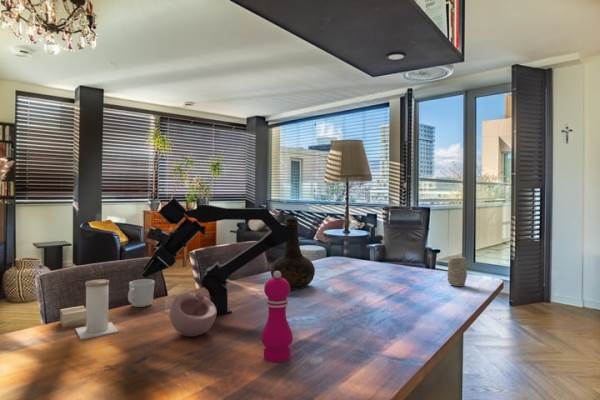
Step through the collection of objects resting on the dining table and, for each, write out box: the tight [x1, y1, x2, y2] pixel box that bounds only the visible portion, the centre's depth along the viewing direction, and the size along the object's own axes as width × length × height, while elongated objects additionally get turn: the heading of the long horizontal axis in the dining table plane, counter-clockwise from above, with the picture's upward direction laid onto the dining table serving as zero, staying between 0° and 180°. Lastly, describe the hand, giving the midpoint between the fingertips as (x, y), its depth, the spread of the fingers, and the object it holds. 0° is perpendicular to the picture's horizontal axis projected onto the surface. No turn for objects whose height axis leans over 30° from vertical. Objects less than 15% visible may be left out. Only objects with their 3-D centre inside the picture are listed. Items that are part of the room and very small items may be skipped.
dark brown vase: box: [270, 217, 316, 290], centre depth 157 cm, size 18×18×28 cm
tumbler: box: [84, 278, 110, 333], centre depth 106 cm, size 6×6×13 cm
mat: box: [75, 321, 119, 341], centre depth 106 cm, size 9×9×1 cm
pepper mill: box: [261, 271, 294, 363], centre depth 89 cm, size 7×7×20 cm
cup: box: [127, 278, 156, 308], centre depth 129 cm, size 11×8×8 cm
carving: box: [447, 255, 468, 287], centre depth 160 cm, size 6×8×12 cm
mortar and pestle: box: [169, 292, 217, 337], centre depth 103 cm, size 12×12×11 cm
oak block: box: [59, 305, 86, 329], centre depth 112 cm, size 6×6×4 cm
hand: (144, 273), depth 117 cm, fingers open, 9 cm apart
